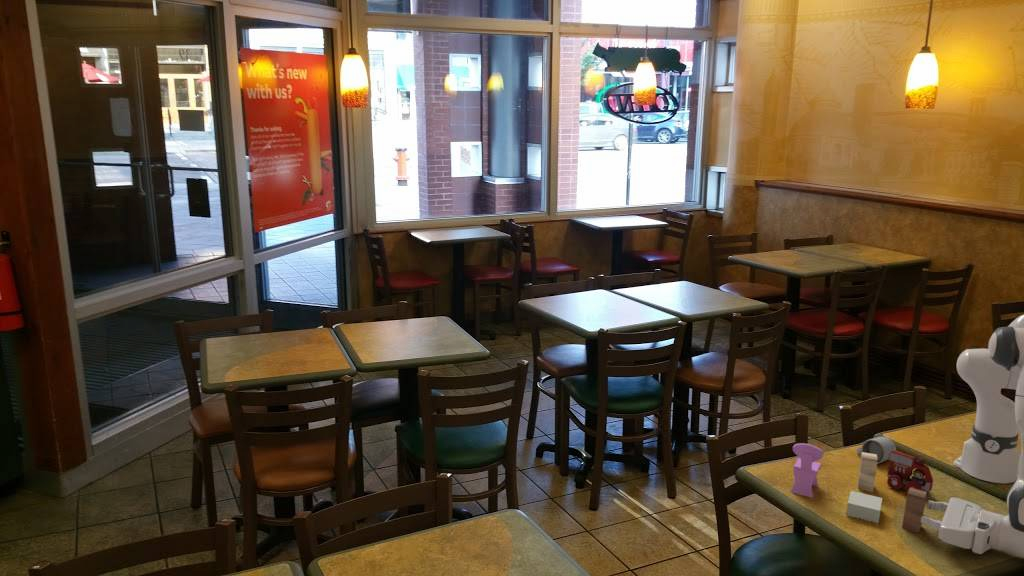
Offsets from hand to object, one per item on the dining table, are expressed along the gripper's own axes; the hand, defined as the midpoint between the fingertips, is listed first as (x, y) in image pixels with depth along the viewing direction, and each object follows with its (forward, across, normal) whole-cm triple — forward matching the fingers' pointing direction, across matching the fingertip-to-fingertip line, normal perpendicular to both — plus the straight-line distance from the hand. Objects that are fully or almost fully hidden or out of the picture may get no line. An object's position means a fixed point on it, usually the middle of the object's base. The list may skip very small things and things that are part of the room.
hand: (924, 511), depth 202 cm
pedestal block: (+14, 0, +6) cm, 15 cm away
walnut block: (+2, 0, +6) cm, 6 cm away
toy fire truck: (+7, -23, +6) cm, 25 cm away
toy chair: (+31, -4, +6) cm, 32 cm away
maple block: (+17, -16, +6) cm, 24 cm away
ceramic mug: (+20, -39, +6) cm, 44 cm away
